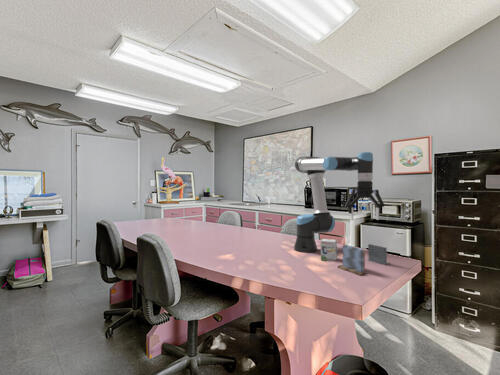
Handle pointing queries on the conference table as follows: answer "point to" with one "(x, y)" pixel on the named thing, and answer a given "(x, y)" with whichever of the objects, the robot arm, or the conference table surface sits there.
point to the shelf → (353, 260)
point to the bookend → (377, 254)
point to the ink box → (328, 249)
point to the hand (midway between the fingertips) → (364, 219)
